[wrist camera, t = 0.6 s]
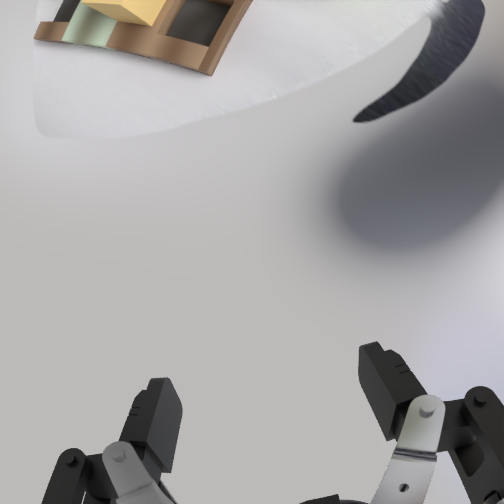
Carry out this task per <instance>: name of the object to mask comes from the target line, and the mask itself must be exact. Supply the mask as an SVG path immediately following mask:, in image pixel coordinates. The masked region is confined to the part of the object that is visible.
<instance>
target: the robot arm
mask: <svg viewBox="0 0 504 504" xmlns="http://www.w3.org/2000/svg"><path fill="white" fill-rule="evenodd" d="M358 375H359V381H360V384H361V387H362V389H363V391H364V393H365V395H366V397H367V399H368V402H369V404H370V406H371V408H372V410H373V412H374V414H375V416H376V419H377V420H378V423H379V425H380V427H381V430H382V432H383V434H384V436H385V438H386V441H389V440H392V439H396V441H397V445H396V447H395V450H394V452H393V454H392V457H391V460H390V462H389V464H388V467H387V469H386V471H385V474H384V476H383V478H382V480H381V483H380V485H379V487H378V489H377V491H376V494H375V495H374V497H373V499H372V501H371V503H370V504H423V502H424V499H425V496H426V493H427V491H428V487H429V485H430V481H431V478H432V475H433V472H434V468H435V465H436V461H437V456H436V453H437V452H442V451H448V452H449V454H450V456H451V459H452V461H453V463H454V465H455V467H456V469H457V471H458V474H459V476H460V478H461V480H462V483H463V485H464V487H465V490H466V492H467V494H468V497H469V499H470V501H471V504H504V405H503V404H502V403H501V401H500V400H499V399H498V397H497V396H496V395H495V393H494V392H493V391H492V390H491V389H489V388H487V387H484V386H477V387H474V388H472V389H470V390H469V391H468V392H467V393H466V395H465V398H464V399H459V400H453V401H442V400H441V399H440V398H438V397H436V396H434V395H428V394H427V393H426V391H425V390H424V388H423V387H422V385H421V384H420V382H419V381H418V380H417V378H416V377H415V375H414V374H413V372H412V371H410V368H409V367H408V365H406V363H405V361H404V360H403V358H402V357H401V356H400V355H399V354H397V353H396V352H394V351H392V350H387V351H384V350H383V348H382V347H381V345H380V344H379V343H378V342H377V341H376V342H372V343H369V344H365V345H361V346H360V347H359V367H358ZM181 418H182V404H181V401H180V399H179V397H178V395H177V393H176V391H175V389H174V387H173V384H172V382H171V380H170V379H169V378H152V379H151V380H150V382H149V384H148V387H147V390H142V391H141V392H140V393H139V394H138V395H137V396H136V397H135V399H134V401H133V404H132V409H131V410H130V412H129V416H128V417H127V420H126V422H125V425H124V427H123V430H122V433H121V436H120V438H119V441H118V442H114V443H112V444H110V445H109V446H107V447H106V448H105V450H104V451H103V453H102V454H95V455H88V456H86V455H85V454H84V453H83V452H82V451H81V450H79V449H77V448H71V449H67V450H65V451H64V452H63V453H62V454H61V455H60V456H59V458H58V461H57V464H56V466H55V469H54V471H53V473H52V476H51V479H50V482H49V484H48V487H47V490H46V492H45V495H44V498H43V501H42V504H81V503H82V500H83V496H84V493H85V492H86V494H85V498H84V501H83V504H178V503H177V502H176V500H175V499H174V497H173V496H172V495H171V493H170V492H169V490H168V489H167V488H166V486H165V485H164V483H163V482H162V480H160V477H161V472H162V473H171V470H172V465H173V459H174V454H175V449H176V444H177V438H178V433H179V428H180V423H181ZM300 504H368V503H365V502H361V501H354V500H339V496H338V494H336V495H332V496H327V497H323V498H319V499H313V500H308V501H305V502H303V503H300Z"/></svg>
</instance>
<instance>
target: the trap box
mask: <svg viewBox="0 0 504 504" xmlns="http://www.w3.org/2000/svg"><path fill="white" fill-rule="evenodd" d="M252 1H253V0H166V2H165V3H164V5H163V7H162V9H161V10H160V12H159V14H158V16H157V18H156V19H155V21H154V23H153V25H152V26H146V25H141V24H135V23H128V22H121V21H116V20H115V19H113V18H111V17H109V16H107V15H105V14H103V13H101V12H99V11H97V10H95V9H93V8H91V7H89V6H87V5H85V4H83V3H81V2H82V0H64V1H63V3H62V5H61V7H60V9H59V11H58V13H57V15H56V17H55V19H54V21H53V22H40V25H39V27H38V29H37V31H36V34H35V36H34V39H37V40H42V41H50V42H62V43H71V44H79V45H87V46H93V47H100V48H106V49H111V50H116V51H122V52H126V53H131V54H136V55H140V56H144V57H148V58H152V59H156V60H160V61H164V62H168V63H171V64H175V65H178V66H182V67H185V68H188V69H191V70H194V71H198V72H201V73H204V74H207V75H210V76H212V75H213V73H214V71H215V69H216V67H217V65H218V63H219V61H220V59H221V57H222V55H223V53H224V51H225V49H226V47H227V45H228V43H229V41H230V40H231V38H232V36H233V34H234V32H235V30H236V28H237V27H238V25H239V23H240V21H241V20H242V18H243V16H244V14H245V13H246V11H247V9H248V8H249V6H250V4H251V2H252Z"/></svg>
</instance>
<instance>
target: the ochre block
mask: <svg viewBox="0 0 504 504" xmlns="http://www.w3.org/2000/svg"><path fill="white" fill-rule="evenodd" d="M165 2H166V0H82V2H81V3H83V4H85V5H87V6H89V7H91V8H93V9H95V10H97V11H99V12H101V13H103V14H105V15H107V16H109V17H111V18H113V19H115V20H116V21H121V22H128V23H135V24H141V25H146V26H152V25H153V23H154V21H155V19H156V18H157V16H158V14H159V12H160V10H161V9H162V7H163V5H164V3H165Z"/></svg>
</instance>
